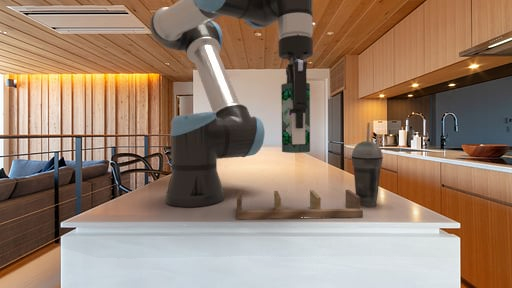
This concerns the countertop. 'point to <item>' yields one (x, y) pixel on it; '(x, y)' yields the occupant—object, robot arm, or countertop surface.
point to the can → (287, 121)
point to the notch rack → (315, 210)
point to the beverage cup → (367, 171)
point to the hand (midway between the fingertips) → (296, 143)
